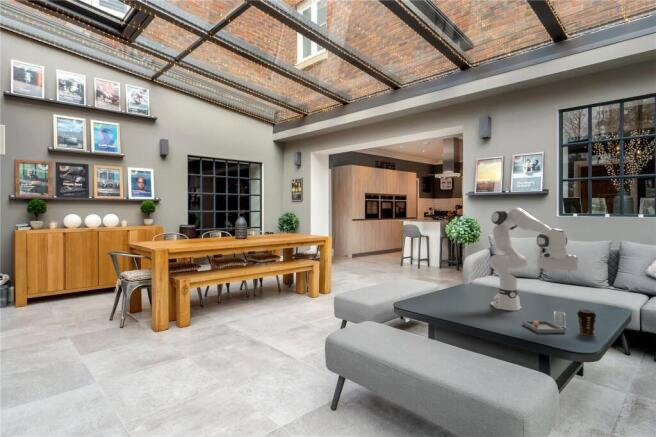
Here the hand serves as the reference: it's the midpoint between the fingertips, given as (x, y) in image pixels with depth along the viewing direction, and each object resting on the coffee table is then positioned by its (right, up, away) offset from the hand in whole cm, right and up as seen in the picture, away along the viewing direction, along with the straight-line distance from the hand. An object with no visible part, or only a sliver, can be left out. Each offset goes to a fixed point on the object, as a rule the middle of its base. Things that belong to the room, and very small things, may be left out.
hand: (557, 276), depth 217 cm
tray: (-16, -29, -11) cm, 35 cm away
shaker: (-3, -29, -6) cm, 30 cm away
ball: (-19, -27, -8) cm, 34 cm away
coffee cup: (+3, -29, -20) cm, 36 cm away
